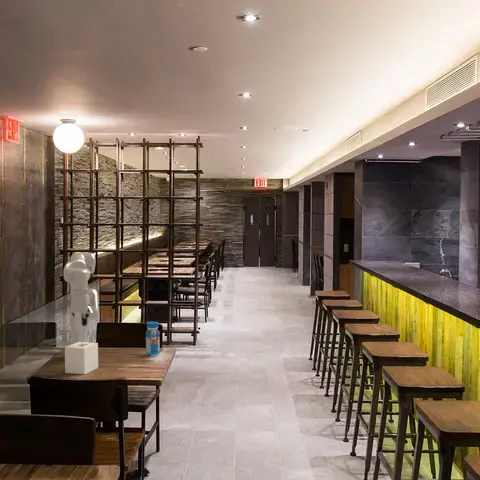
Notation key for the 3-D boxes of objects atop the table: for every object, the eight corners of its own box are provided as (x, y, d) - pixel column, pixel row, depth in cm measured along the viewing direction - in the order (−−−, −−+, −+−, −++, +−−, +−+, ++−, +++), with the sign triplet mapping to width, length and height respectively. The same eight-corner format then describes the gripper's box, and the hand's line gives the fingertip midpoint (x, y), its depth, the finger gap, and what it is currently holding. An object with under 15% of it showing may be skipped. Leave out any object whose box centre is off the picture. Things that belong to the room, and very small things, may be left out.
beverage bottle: (143, 355, 356) (142, 323, 355) (150, 352, 364) (149, 320, 363) (155, 356, 353) (155, 323, 352) (162, 353, 361) (161, 321, 360)
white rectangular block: (75, 329, 320) (74, 311, 319) (81, 327, 325) (80, 310, 325) (81, 330, 318) (81, 312, 318) (87, 328, 324) (87, 310, 324)
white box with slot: (65, 372, 318) (64, 347, 317) (79, 366, 331) (79, 341, 331) (84, 374, 314) (84, 348, 314) (98, 367, 328) (97, 343, 327)
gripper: (63, 292, 320) (64, 325, 321) (90, 293, 315) (91, 327, 316) (71, 290, 327) (71, 323, 328) (97, 291, 322) (98, 324, 323)
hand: (81, 324), depth 322 cm, fingers closed on white rectangular block, 4 cm apart
